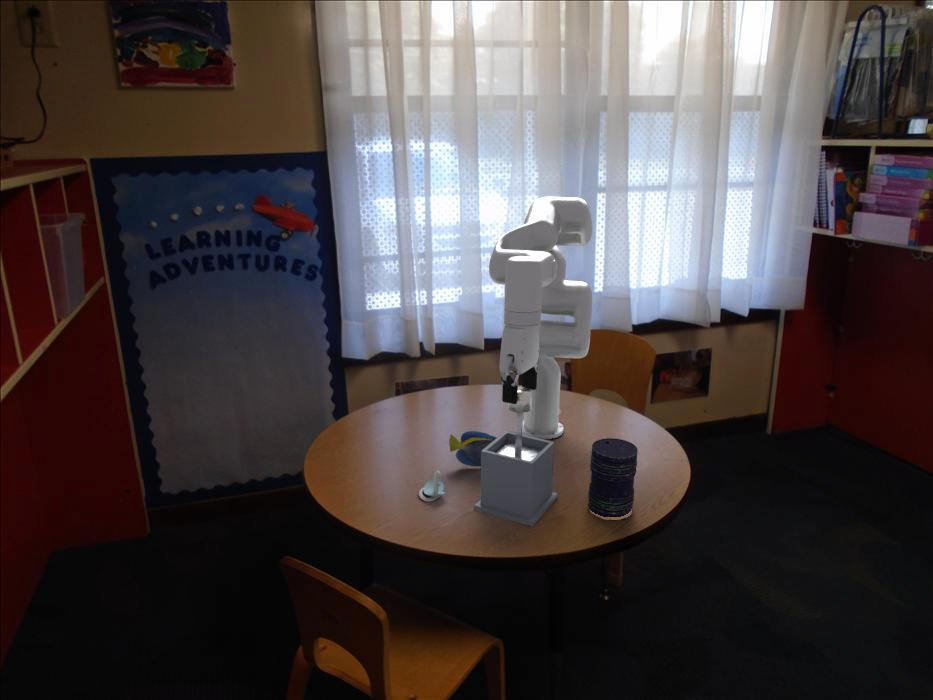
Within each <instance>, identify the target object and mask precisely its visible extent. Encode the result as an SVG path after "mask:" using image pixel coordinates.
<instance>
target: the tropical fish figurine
mask: <svg viewBox="0 0 933 700" xmlns="http://www.w3.org/2000/svg"><path fill="white" fill-rule="evenodd" d="M496 438H498V436H494V435H491V434H489V433H487V432H483V431H477V430H470V431H469V430H468V431H464V432H463V433H461V436H460V440H459V439H458V438H457V437H456V436H454V435H453V434H450V435H449V441H448V442H449V443H448V445H449V451H450V452H451V453H452V452H455V451H456V450H457V451H456V453H455V457H456V460H458V462H459V463H461V464H462V465H465V466H470V467H480V468H481V451H482V450H483V449H484V448H485V447H487V446H488V445H489V444H490V443H492V442H493V441H494V440H495V439H496Z"/></svg>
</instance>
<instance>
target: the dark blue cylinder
mask: <svg viewBox="0 0 933 700" xmlns="http://www.w3.org/2000/svg"><path fill="white" fill-rule="evenodd" d="M638 451H639V450H638V447H637V445H635V444H634V443H632V442H630V441H628V440H624V439H621V438H615V437H614V438H613V437H612V438H608V437H607V438H601V439H597V440H595V441H594V442H593V443H592V445H591V454H590V464H589V467H590V471H591V472H590V473H591V475H590V482H589V484H588V495H587V498H588V499H587V500H588V503H587V508H588V507H589V509H590V510H591V511H592V512H594V513H595V514H598V515H600V516H603V517H621V516H624V515H626V514H628V513H629V512H630V511H631V509H632V510H633V506H634V500H635V488H634V483H635V476H636V474H637V467H638V453H639V452H638Z"/></svg>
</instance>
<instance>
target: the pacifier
mask: <svg viewBox="0 0 933 700" xmlns="http://www.w3.org/2000/svg"><path fill="white" fill-rule="evenodd" d="M433 475H434V476H433V478H431V479H429V480H427V481H426V482H425V484H424V486H423V487H422V488H420V489H419V491H418V497H419V498H420V500H423V501H424V502H433V501H435V500H439V498H441V496H445V495H446V491H445V492H444V487H445V485H444V483H443V482H442V474H441V471H439V469H437V470H435V472H434V474H433ZM423 493H424V494H423ZM425 495H426V496H429V497H426V496H425Z"/></svg>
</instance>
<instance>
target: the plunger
mask: <svg viewBox="0 0 933 700" xmlns="http://www.w3.org/2000/svg"><path fill="white" fill-rule="evenodd" d="M531 404H532V390H531V389H529V388H526V387H522V386H518V395H517V403H516V404H511V403H507V410H509V411H510V412H513V413H515V423H514V427H515V428H514V433H515V444H514V443H510V442H508V443H507V444H505V445H504V446H503V447H502V448H501V449H500V450H498V451H497V452H496V453H499V454H503V455H507V456H511V457H515V458H519V459H523V460H527V461H531V460H532V459H533V458H534V457H535V456H537V455H538V454H539V453H540V452H541V451H542V450H539V449H535V448H531V447H526V446H522V435H523V420H524V413H525V412H529V411H530V410H531Z"/></svg>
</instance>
